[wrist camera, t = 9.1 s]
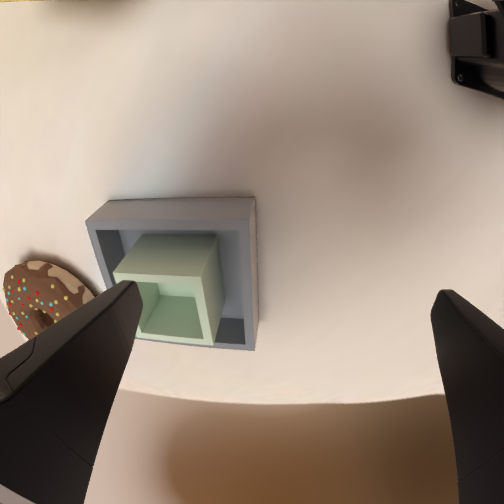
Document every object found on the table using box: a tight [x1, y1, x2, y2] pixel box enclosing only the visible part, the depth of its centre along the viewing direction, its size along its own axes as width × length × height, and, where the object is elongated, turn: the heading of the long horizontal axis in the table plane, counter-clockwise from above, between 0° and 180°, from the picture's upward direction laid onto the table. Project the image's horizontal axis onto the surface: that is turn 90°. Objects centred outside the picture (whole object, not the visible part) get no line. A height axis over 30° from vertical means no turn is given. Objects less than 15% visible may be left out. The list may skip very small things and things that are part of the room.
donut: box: [3, 261, 95, 341], centre depth 27 cm, size 14×14×5 cm
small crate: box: [113, 235, 225, 346], centre depth 22 cm, size 6×6×5 cm
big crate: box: [85, 197, 259, 351], centre depth 23 cm, size 11×11×4 cm
